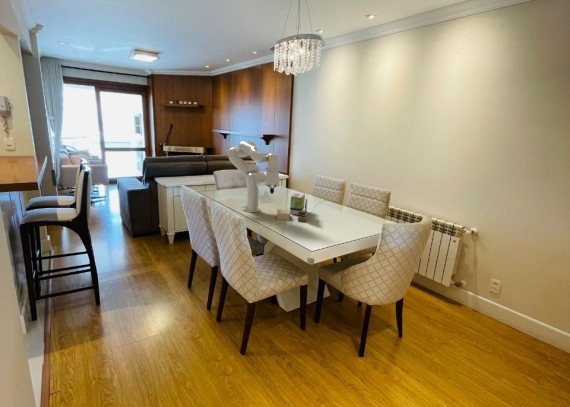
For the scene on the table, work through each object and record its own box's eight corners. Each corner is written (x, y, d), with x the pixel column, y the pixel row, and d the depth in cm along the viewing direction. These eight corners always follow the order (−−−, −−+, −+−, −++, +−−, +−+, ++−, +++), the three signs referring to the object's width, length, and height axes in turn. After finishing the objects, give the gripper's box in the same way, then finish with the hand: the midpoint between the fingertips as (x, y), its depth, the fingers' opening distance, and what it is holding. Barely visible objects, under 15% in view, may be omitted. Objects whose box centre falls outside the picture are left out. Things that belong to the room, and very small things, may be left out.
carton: (277, 219, 236) (277, 213, 235) (277, 215, 248) (277, 208, 247) (289, 219, 237) (289, 213, 236) (288, 215, 248) (288, 209, 247)
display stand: (297, 221, 232) (298, 203, 229) (298, 214, 250) (299, 198, 247) (305, 222, 232) (306, 204, 229) (306, 215, 250) (307, 198, 247)
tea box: (301, 215, 250) (302, 197, 247) (289, 213, 252) (290, 196, 249) (304, 210, 265) (305, 193, 261) (292, 209, 267) (293, 192, 263)
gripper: (262, 170, 231) (261, 193, 235) (281, 171, 230) (281, 194, 234) (263, 168, 238) (263, 191, 242) (282, 169, 237) (281, 193, 241)
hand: (271, 193), depth 238 cm, fingers closed
